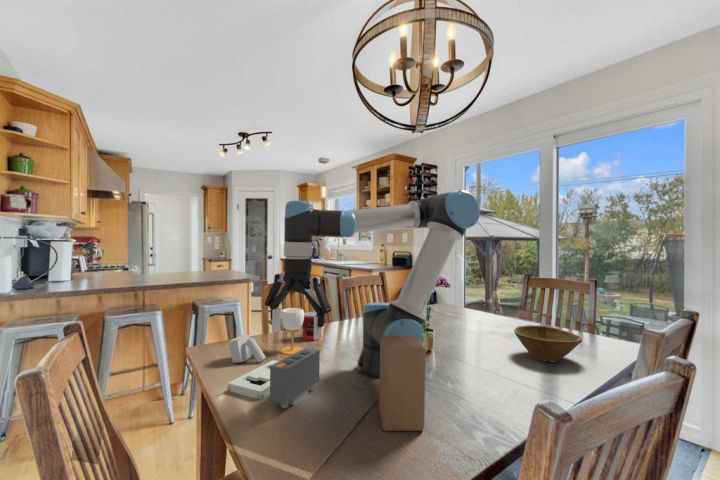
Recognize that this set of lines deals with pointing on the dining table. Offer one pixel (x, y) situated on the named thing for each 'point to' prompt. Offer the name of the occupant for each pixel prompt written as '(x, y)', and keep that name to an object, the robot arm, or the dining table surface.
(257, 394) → the keyhole board
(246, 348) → the wall hook
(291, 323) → the cup
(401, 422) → the wooden block
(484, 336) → the dining table surface
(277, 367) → the grey slotted block
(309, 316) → the canned food
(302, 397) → the foam block
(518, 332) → the bowl
